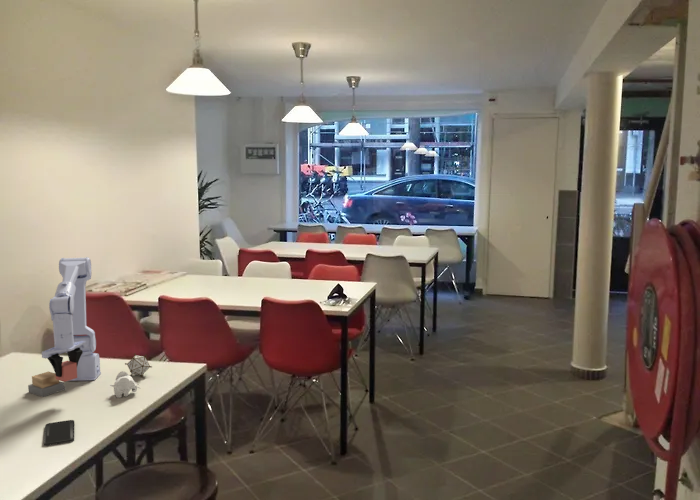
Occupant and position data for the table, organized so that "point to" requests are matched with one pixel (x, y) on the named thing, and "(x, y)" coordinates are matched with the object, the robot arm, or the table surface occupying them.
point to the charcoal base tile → (46, 389)
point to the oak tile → (44, 380)
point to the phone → (59, 433)
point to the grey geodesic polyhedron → (138, 365)
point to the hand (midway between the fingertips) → (66, 374)
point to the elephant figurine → (124, 385)
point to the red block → (68, 371)
